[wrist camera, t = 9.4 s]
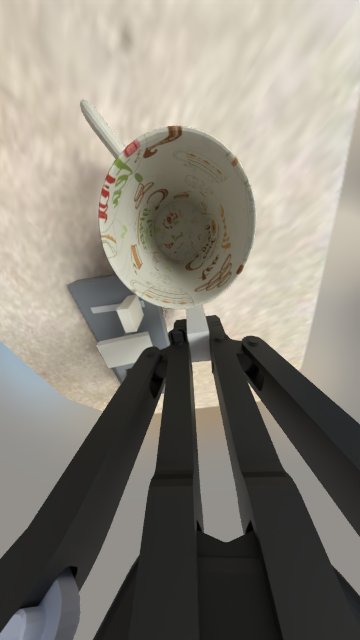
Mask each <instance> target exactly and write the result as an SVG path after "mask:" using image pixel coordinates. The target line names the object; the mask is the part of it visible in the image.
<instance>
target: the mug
mask: <svg viewBox="0 0 360 640" xmlns="http://www.w3.org/2000/svg"><path fill="white" fill-rule="evenodd" d="M80 106H81V110H82V113H83V115H84V117H85V118H86V120H87V122H88V123H89V125H90V126H91V128H92V129H93V130H94V132H95V133H96V134H97V136H98V137H99V138H100V139H101V141H102V142H103V143H104V145H105V146H106V147H107V148H108V150H109V151H110V152H111V154H112V155H113V156H114V157H115V159H116V160H115V162H114V163H113V165H112V167H111V168H110V170H109V172H108V175H107V177H106V179H105V182H104V185H103V188H102V192H101V197H100V203H99V230H100V236H101V241H102V245H103V248H104V251H105V254H106V256H107V259H108V261H109V263H110V265H111V267H112V269H113V270H114V272H115V273H116V275H117V276H118V277H119V279H120V280H121V281H122V282H123V284H124V285H125V286H126V287H127V288H128V289H129V290H131V291H132V292H133V293H134V294H136V295H137V296H138V297H140V298H142V299H143V300H145V301H147V302H149V303H151V304H154V305H157V306H160V307H164V308H170V309H186V308H192V307H197V306H200V305H203V304H205V303H207V302H209V301H211V300H213V299H215V298H216V297H218V296H219V295H221V294H222V293H223V292H225V291H226V290H227V289H228V288H229V287H230V286H231V285H232V284H233V283H234V281H235V280H236V279H237V278H238V276H239V275H240V273H241V272H242V270H243V268H244V266H245V265H246V263H247V260H248V258H249V256H250V253H251V250H252V247H253V243H254V238H255V232H256V204H255V198H254V193H253V190H252V187H251V183H250V181H249V178H248V176H247V174H246V172H245V170H244V168H243V166H242V165H241V163H240V161H239V160H238V159H237V157H236V156H235V155H234V154H233V152H232V151H231V150H230V149H229V148H228V147H227V146H226V145H224V144H223V143H222V142H221V141H220V140H218V139H217V138H215V137H214V136H212V135H210V134H208V133H206V132H204V131H202V130H199V129H196V128H192V127H186V126H168V127H162V128H158V129H154V130H152V131H150V132H147V133H145V134H143V135H142V136H140V137H138V138H137V139H135V140H134V141H133V142H132V143H130V144H129V145H128V146H127V147H125V146H124V145H123V144H122V143H121V141H120V140H119V139H118V137H117V136H116V135H115V134H114V132H113V131H112V130H111V128H110V127H109V126H108V124H107V123H106V122H105V120H104V119H103V118H102V116H101V115H100V114H99V112H98V111H97V110H96V109H95V107H94V106H93V105H92V104H91V103H90V102H89V101H87V100H84V99H83V100H81V102H80Z"/></svg>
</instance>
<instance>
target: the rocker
mask: <svg viewBox="0 0 360 640" xmlns="http://www.w3.org/2000/svg"><path fill="white" fill-rule="evenodd" d="M96 347H97V348H98V350H99V352H100V354H101V356H102V357H103V359H104V361H105V363H106V364H107V366H108V368H113V367H117V366H122V365H126V364H131V363H135V362H136V361H137V359H138V357H139V356H140V354H141V353H142V352H143V350H145V349H146V348H148V347H152V342H151V339H150V336H149V333H148V331H146V332H142V333H137V334H132V335H128V336H123V337H118V338H113V339H109V340H104V341H99V342H98V344H97V346H96Z"/></svg>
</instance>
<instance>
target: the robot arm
mask: <svg viewBox="0 0 360 640" xmlns="http://www.w3.org/2000/svg"><path fill="white" fill-rule="evenodd" d="M186 315H187V319H182V320H176V322H175V323H174V329H173V330H171V331H170V332H169V333H168V338H169V342H170V345H169V346H168V347H166V348H163V349H160V350H159V348H158V347H155V346H152V347H148V348H146V349H145V350H143V352H142V353H141V354H140V356H139V357H138V359H137V361H136V362H135V364H134V365H133V367H132V368H131V370H130V371H129V373H128V374H127V376H126V377H125V379H124V381H123V382H122V384H121V385H120V387H119V388H118V390H117V391H116V393H115V394H114V396H113V397H112V399H111V401H110V402H109V404H108V405H107V407H106V408H105V410H104V411H103V413H102V414H101V416H100V417H99V419H98V421H97V422H96V424H95V425H94V427H93V428H92V430H91V431H90V433H89V434H88V436H87V438H86V439H85V441H84V442H83V444H82V445H81V447H80V448H79V450H78V451H77V453H76V454H75V456H74V458H73V459H72V461H71V462H70V464H69V465H68V467H67V468H66V470H65V472H64V473H63V474H62V476H61V478H60V479H59V481H58V482H57V484H56V485H55V487H54V488H53V490H52V491H51V493H50V495H49V496H48V498H47V499H46V501H45V502H44V504H43V505H42V507H41V508H40V510H39V511H38V513H37V514H36V516H35V518H34V519H33V521H32V522H31V524H30V525H29V527H28V528H27V529H26V530H25V531H24V533H23V534H22V535H21V536H20V537H19V538H18V539H17V541H16V542H15V543H14V544H13V545H12V546H11V547H10V549H9V550H8V551H7V552H6V553H5V554H4V555H3V557H2V558H1V559H0V640H73V637H74V635H75V633H76V630H77V626H78V623H79V617H80V596H79V591H80V589H81V587H82V586H83V584H84V582H85V580H86V579H87V577H88V575H89V573H90V571H91V569H92V567H93V565H94V563H95V561H96V558H97V556H98V554H99V552H100V550H101V548H102V545H103V543H104V541H105V538H106V536H107V533H108V531H109V529H110V526H111V523H112V521H113V518H114V515H115V513H116V510H117V508H118V505H119V502H120V500H121V497H122V495H123V492H124V489H125V486H126V484H127V481H128V479H129V476H130V474H131V471H132V468H133V466H134V463H135V461H136V458H137V455H138V453H139V450H140V448H141V445H142V442H143V440H144V437H145V435H146V432H147V429H148V427H149V424H150V422H151V419H152V416H153V414H154V411H155V409H156V406H157V403H158V401H159V398H160V396H161V393H162V390H163V388H164V385H165V392H164V401H163V410H162V419H161V427H160V436H159V445H158V454H157V463H156V470H155V474H154V476H153V478H152V479H151V482H150V485H149V490H148V497H147V503H146V511H145V519H144V526H143V533H142V541H141V549H140V555H139V556H138V558H137V559H136V561H135V562H134V564H133V565H132V567H131V569H130V571H129V573H128V574H127V576H126V578H125V580H124V582H123V584H122V585H121V587H120V589H119V591H118V593H117V595H116V597H115V599H114V601H113V603H112V605H111V607H110V608H109V610H108V612H107V614H106V616H105V618H104V620H103V622H102V623H101V626H100V627H99V629H98V631H97V633H96V635H95V637H94V639H93V640H360V596H359V595H358V593H357V592H356V591H355V590H354V589H353V588H352V586H351V585H350V584H349V583H348V582H347V581H346V579H345V578H344V577H343V576H342V575H341V574H340V573H339V572H338V571H337V570H336V569H335V568H334V567H333V566H332V565H331V563H330V561H329V558H328V556H327V554H326V552H325V549H324V547H323V545H322V542H321V540H320V538H319V535H318V533H317V531H316V528H315V526H314V524H313V522H312V519H311V517H310V515H309V512H308V510H307V508H306V506H305V503H304V501H303V499H302V496H301V494H300V493H299V490H298V488H297V486H296V484H295V483H294V481H293V479H292V478H291V477H290V476H289V475H288V474H287V473H286V472H285V470H284V469H283V467H282V465H281V463H280V460H279V458H278V455H277V453H276V450H275V448H274V446H273V443H272V441H271V438H270V436H269V433H268V431H267V428H266V426H265V424H264V421H263V419H262V416H261V414H260V411H259V409H258V406H257V404H256V402H255V399H254V397H253V394H252V392H251V389H250V387H249V384H250V386H251V387H252V388H253V390H254V391H255V392H256V394H257V395H258V397H259V398H260V399H261V401H262V402H263V403H264V405H265V406H266V408H267V409H268V410H269V412H270V413H271V415H272V416H273V417H274V419H275V420H276V421H277V423H278V424H279V426H280V427H281V428H282V430H283V431H284V433H285V434H286V435H287V437H288V438H289V440H290V441H291V442H292V444H293V445H294V446H295V448H296V449H297V451H298V452H299V453H300V455H301V456H302V458H303V459H304V460H305V462H306V463H307V465H308V466H309V467H310V468H311V470H312V471H313V473H314V474H315V476H316V477H317V478H318V480H319V481H320V483H321V484H322V485H323V487H324V488H325V489H326V491H327V492H328V494H329V495H330V496H331V498H332V499H333V501H334V502H335V503H336V505H337V506H338V507H339V509H340V510H341V512H342V513H343V514H344V516H345V517H346V519H347V520H348V521H349V523H350V524H351V525H352V527H353V528H354V530H355V531H356V532H357V534H358V535H359V536H360V424H359V423H358V422H356V421H355V420H354V419H353V418H352V417H351V416H349V415H348V414H347V413H346V412H345V411H344V410H343V409H341V408H340V407H339V406H338V405H337V404H336V403H335V402H333V401H332V400H331V399H330V398H329V397H328V396H327V395H325V394H324V393H323V392H322V391H321V390H320V389H318V388H317V387H316V386H315V385H314V384H313V383H311V382H310V381H309V380H308V379H307V378H306V377H304V376H303V375H302V374H301V373H300V372H299V371H298V370H297V369H295V368H294V367H293V366H292V365H291V364H290V363H289V362H287V361H286V360H285V359H284V358H283V357H282V356H281V355H279V354H278V353H277V352H276V351H275V350H274V349H272V348H271V347H270V346H269V345H268V344H267V343H266V342H264V341H263V340H262V339H261V338H259V337H256V336H246V337H244V338H243V339H242V341H237V340H232V339H230V338H229V337H228V335H226V334H225V332H224V329H223V326H222V324H221V322H220V319H219V317H217V316H216V315H213V316H205V313H204V308H203V305H200V306H197V307H192V308H186ZM210 360H211V363H212V373H213V375H214V380H215V385H216V390H217V395H218V400H219V405H220V410H221V415H222V420H223V425H224V430H225V435H226V440H227V445H228V450H229V455H230V461H231V465H232V470H233V476H234V480H235V486H236V491H237V497H238V505H239V512H240V517H241V522H242V528H243V533H244V535H243V536H241V537H239V538H236V539H234V540H232V541H230V542H222V541H220V540H218V539H216V538H214V537H211V536H209V535H207V534H205V533H204V528H203V514H202V503H201V494H200V480H199V466H198V465H199V464H198V449H197V433H196V418H195V402H194V387H193V371H192V362H199V361H210ZM247 381H248V382H247ZM248 383H249V384H248Z"/></svg>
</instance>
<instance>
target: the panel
mask: <svg viewBox="0 0 360 640" xmlns="http://www.w3.org/2000/svg"><path fill="white" fill-rule="evenodd" d="M67 287H68V289H69V291H70V293H71V294H72V296H73V298H74V300H75V302H76V303H77V305H78V307H79V309H80V311H81V313H82V314H83V316H84V318H85V320H86V322H87V323H88V325H89V327H90V329H91V331H92V332H93V334H94V336H95V338H96V340H97V342H99V341H104V340H109V339H113V338H118V337H123V336H128V335H132V334H137V333H142V332H146V331H148V333H149V336H150V339H151V342H152V346H155V347H158V348H159V350H160V349H163V348H166V347H168V346H169V345H170V342H169V338H168V333H167V328H166V324H165V320H164V316H163V312H162V307H160V306H157V305H154V304H151V303H149V302H147V301H145V300H143V299H142V298H140V297H138V298H139V301H140V304H141V307H142V311H143V314H144V316H143V318H142V320H141V323H140V325H139V327H138V329H137V332H129V333H126V332H125V330H124V327H123V325H122V323H121V320H120V318H119V315H118V313H117V308H118V307H119V306H120V305H121V303H122V302H123V301H124V300H125V298H126V297H127V296H129V295H136V294H134V293H133V292H132V291H131V290H129V289H128V288H127V287H126V286H125V285H124V284H123V282H122V281H121V280H120V279H119V277H118V276H117V275H116V274H115V275H109V276H102V277H96V278H89V279H83V280H77V281H75V282H73V283H71V284H69V285H67ZM134 364H135V363H131V364H126V365H122V366H117V367H113V368H112V369H113V371H114V372H115V374H116V376H117V378H118V380H119V381H120V383H121V384H122V382H123V381H124V379H125V377H126V376H127V374H128V373H129V371H130V370H131V368H132V367H133V365H134ZM164 392H165V385H164V388H163V390H162V393H164Z"/></svg>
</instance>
